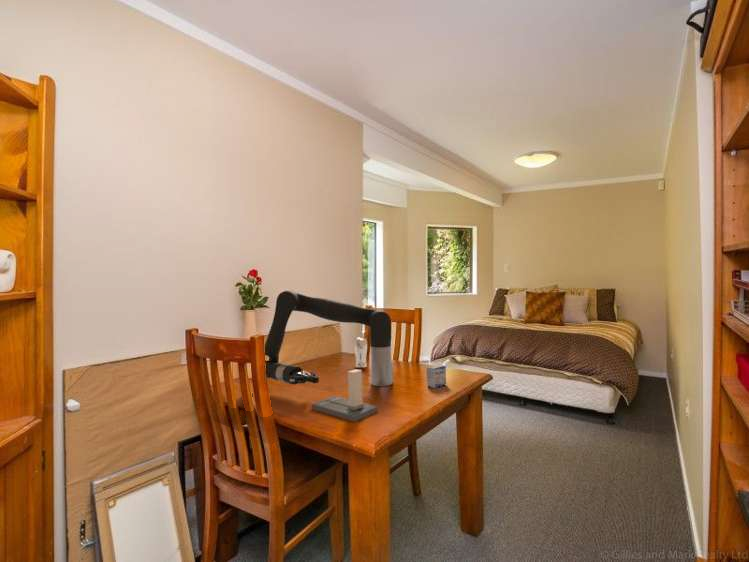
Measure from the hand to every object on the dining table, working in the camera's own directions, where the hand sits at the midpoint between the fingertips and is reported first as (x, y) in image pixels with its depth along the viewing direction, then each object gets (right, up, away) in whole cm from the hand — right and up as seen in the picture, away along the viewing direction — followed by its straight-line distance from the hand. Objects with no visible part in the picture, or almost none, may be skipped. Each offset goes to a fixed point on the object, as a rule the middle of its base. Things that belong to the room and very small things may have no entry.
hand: (317, 380), depth 152 cm
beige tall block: (+16, -6, -12) cm, 21 cm away
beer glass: (+15, -8, +59) cm, 62 cm away
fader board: (+11, -9, -9) cm, 16 cm away
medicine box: (+49, -8, +19) cm, 54 cm away
